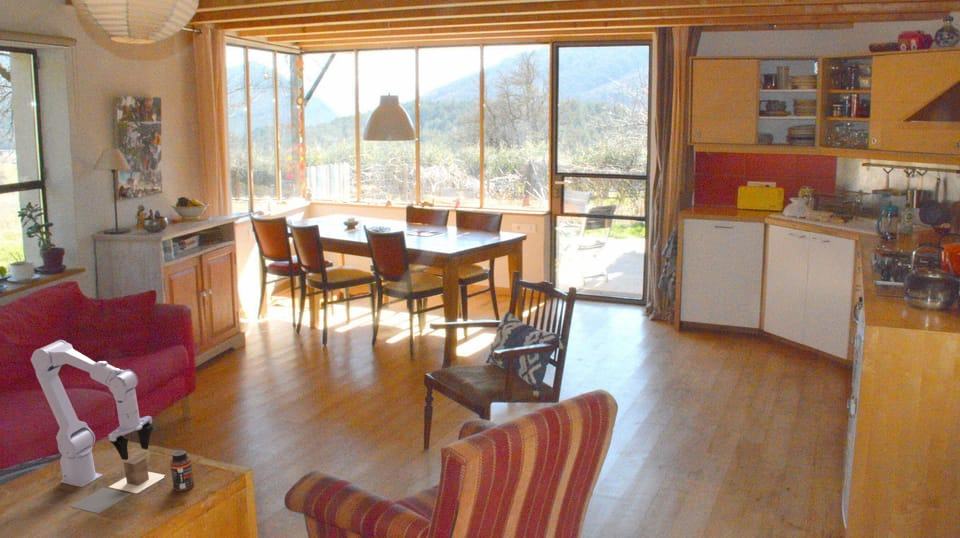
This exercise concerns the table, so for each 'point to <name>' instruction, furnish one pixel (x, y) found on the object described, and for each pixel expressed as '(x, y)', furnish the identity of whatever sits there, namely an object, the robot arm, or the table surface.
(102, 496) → the grey mat
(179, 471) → the supplement bottle
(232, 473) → the table surface
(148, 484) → the cream mat
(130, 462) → the walnut block
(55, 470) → the table surface
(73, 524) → the table surface
